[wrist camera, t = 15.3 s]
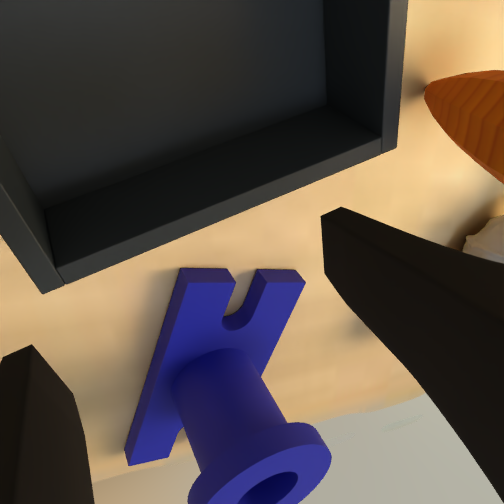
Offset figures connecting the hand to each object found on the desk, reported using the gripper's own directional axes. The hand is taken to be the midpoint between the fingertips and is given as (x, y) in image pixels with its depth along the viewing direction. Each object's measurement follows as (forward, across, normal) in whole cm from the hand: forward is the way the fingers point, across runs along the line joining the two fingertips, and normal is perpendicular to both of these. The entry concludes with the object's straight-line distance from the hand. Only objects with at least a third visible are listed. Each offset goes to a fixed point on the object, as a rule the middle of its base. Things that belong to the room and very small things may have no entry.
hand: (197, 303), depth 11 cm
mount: (+10, 0, +16) cm, 19 cm away
